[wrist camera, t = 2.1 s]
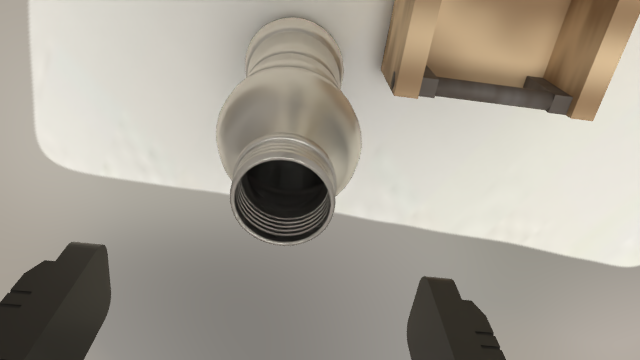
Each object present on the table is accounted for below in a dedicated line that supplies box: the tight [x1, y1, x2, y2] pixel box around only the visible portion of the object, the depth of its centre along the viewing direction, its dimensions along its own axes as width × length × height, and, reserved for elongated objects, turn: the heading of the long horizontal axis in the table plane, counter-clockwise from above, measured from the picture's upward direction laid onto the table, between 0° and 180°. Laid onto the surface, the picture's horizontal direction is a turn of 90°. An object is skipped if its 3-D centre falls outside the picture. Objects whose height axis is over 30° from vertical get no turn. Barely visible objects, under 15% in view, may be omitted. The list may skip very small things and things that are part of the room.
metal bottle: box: [216, 17, 362, 246], centre depth 25 cm, size 6×7×20 cm
